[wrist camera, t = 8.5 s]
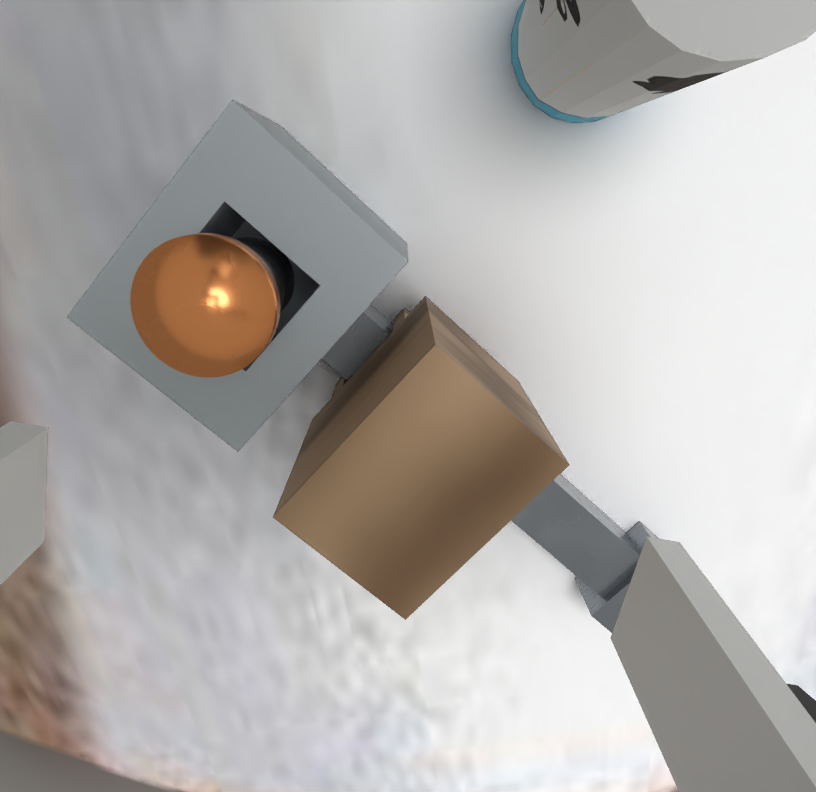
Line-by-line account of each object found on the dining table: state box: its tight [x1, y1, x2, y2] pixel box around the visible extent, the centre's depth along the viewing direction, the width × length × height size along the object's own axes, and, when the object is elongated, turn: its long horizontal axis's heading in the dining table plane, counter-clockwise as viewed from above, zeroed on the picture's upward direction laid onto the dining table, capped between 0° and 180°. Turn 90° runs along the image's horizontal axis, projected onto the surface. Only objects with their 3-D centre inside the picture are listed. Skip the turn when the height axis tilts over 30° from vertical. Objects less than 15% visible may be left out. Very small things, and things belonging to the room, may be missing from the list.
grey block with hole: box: [67, 100, 408, 452], centre depth 28 cm, size 8×10×9 cm
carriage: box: [273, 296, 569, 620], centre depth 28 cm, size 6×8×13 cm
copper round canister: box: [130, 233, 295, 378], centre depth 23 cm, size 4×4×7 cm
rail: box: [322, 305, 659, 633], centre depth 34 cm, size 22×5×4 cm, turn 48°
